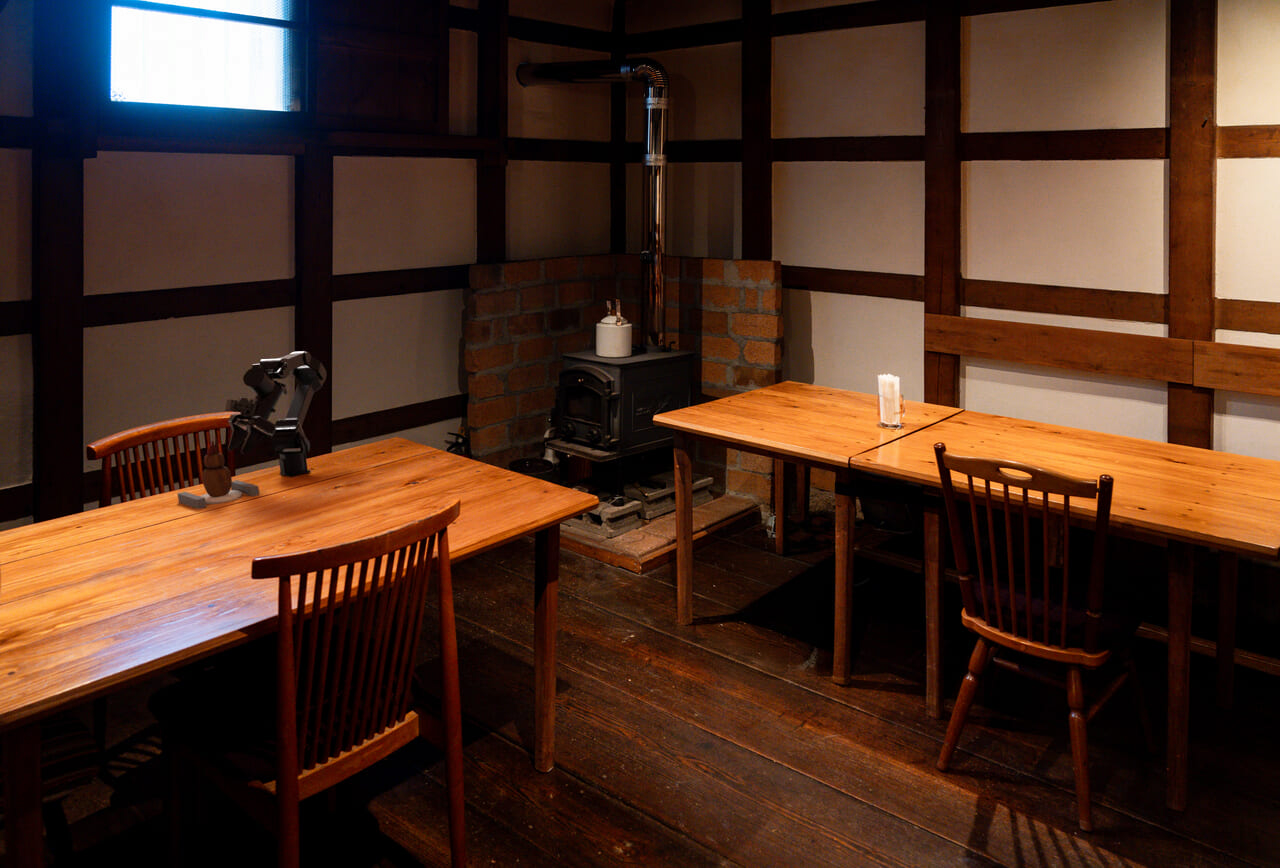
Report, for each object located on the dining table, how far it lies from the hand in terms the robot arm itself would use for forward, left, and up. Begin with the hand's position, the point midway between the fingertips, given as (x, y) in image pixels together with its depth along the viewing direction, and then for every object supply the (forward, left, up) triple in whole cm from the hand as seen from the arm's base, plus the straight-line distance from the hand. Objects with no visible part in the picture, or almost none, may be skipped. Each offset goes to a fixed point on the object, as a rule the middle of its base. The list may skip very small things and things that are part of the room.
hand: (236, 451), depth 261 cm
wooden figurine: (+7, +3, -10) cm, 13 cm away
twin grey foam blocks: (+8, +4, -11) cm, 14 cm away
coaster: (+8, +4, -11) cm, 14 cm away
